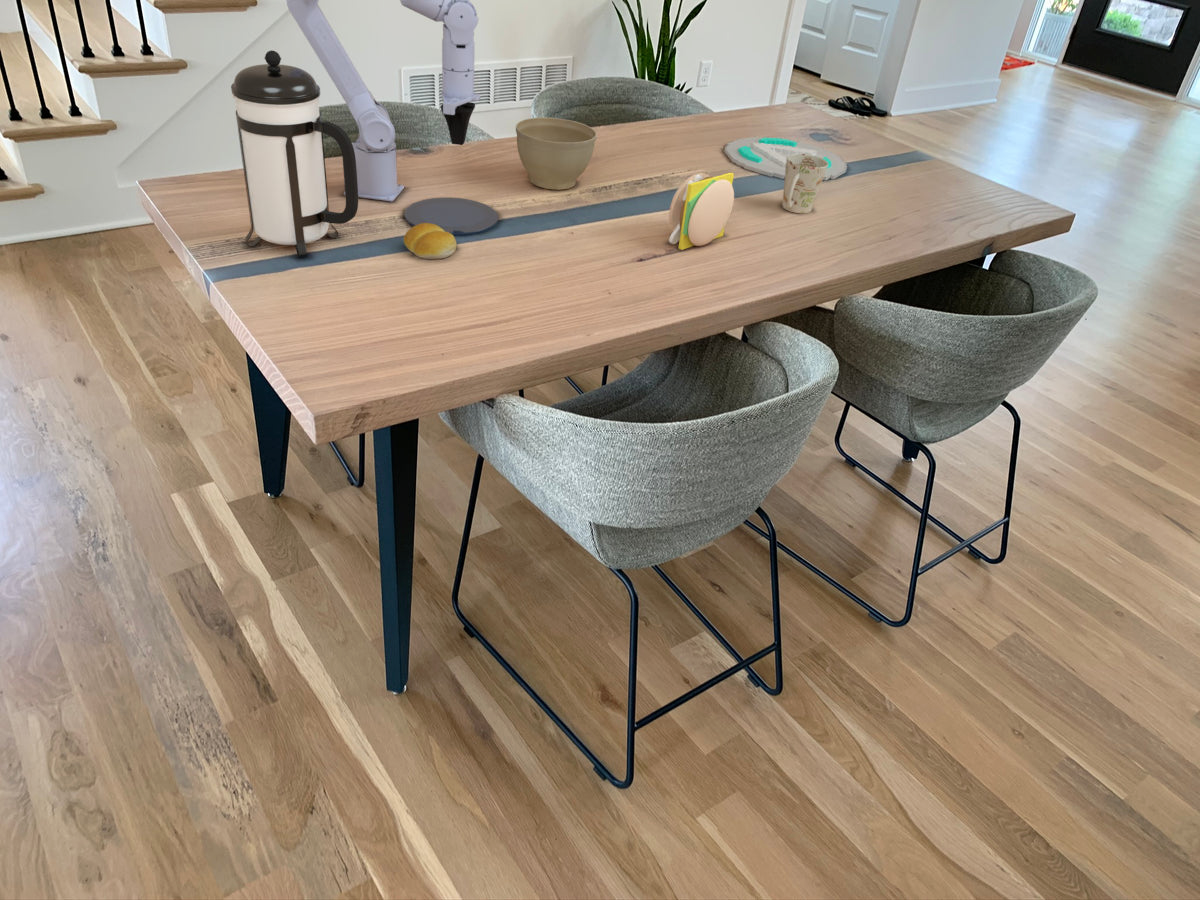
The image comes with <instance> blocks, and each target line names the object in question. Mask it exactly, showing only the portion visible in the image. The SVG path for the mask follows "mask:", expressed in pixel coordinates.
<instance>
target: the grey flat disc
mask: <svg viewBox="0 0 1200 900" xmlns="http://www.w3.org/2000/svg"><path fill="white" fill-rule="evenodd" d="M723 153H724V154H725V155H726V157H727V158H729V160H730V162H731V163H734V164H735V165H736V166H739V167H742V168H743V169H745V170H748V171H751V172H755V173H757V174H760V175H765V176H768V177H771V178H772V177H775V178H777V179H781V180H785V170H786V160H787V157H788V156H789V155H791V154H808V155H813V156H817V157H820V158H822V159H824V160H826V161H827V162H828V167H827V170H826V173H825V175H824V178H823V181H825V182H826V181H828V180H829V179H830V180H834V179H836V178H838V177H840V176H842V175H843V174H845V173H847V169H848V163H847V162H846V161H844V160H843V159H842V158H841V157H840V156H839V155H838V154H837V153H834V152H833V151H832V150H828V149H825V148H824V147H821V146H818V145H815V144H811V143H806V142H805V141H800V140H793V139H790V138H782V137H765V136H762V137H761V136H753V137H750V136H748V137H745V138H743V137H740V138H738V139H735V140H733V141H731V142H728V143H726V145H725V146H724V150H723Z"/></svg>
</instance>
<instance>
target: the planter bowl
mask: <svg viewBox="0 0 1200 900" xmlns="http://www.w3.org/2000/svg"><path fill="white" fill-rule="evenodd" d="M515 132H516V133H515V134H516V146H517V152H518V155H519V159H520V161H521V164H522V166H523V168H524V169H525V171H526V173H527V174H528V179H529V182H530V183H531V184H532V185H534V186H537V187H539V188H542V189H547V190H555V191H558V190H559V191H560V190H561V191H562V190H567V189H568V190H569V189H571V188H573V187H574V186H575V185H576V183H577V180H578V178H580V176H581V175H582V174H583V173H584V171H585V170H586V168H587V167H588V165H589V163H590V162H591V159H592V157H593V153H594V150H595V149H594V148H595V143H596V140H597V137H598V134H597V131H596V130H595V129H594V128H593V127H591V126H589V125H587V124H585V123H582V122H579V121H574V120H570V119H564V118H558V117H531V118H526V119H522V120H520V121H518V122H517V123H516V124H515Z"/></svg>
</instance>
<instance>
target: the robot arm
mask: <svg viewBox="0 0 1200 900" xmlns="http://www.w3.org/2000/svg"><path fill="white" fill-rule="evenodd" d="M399 1H400V4H401V6H403V7H405V8H407V9H408V10H411V11H413V12H415V13H417V14H419V15H422V16H423V17H426V18H427V19H430V20H432V21H434V22H436V23H438V22H442V23H443V24H442V41H441V48H442V49H441V66H442V67H441V71H442V73H441V75H442V77H441V79H442V81H441V82H442V83H441V84H442V87H441V89H442V91H441V92H440V93H441V99H442V104H441V105H440V111H441V113H442V115H443V116H444V119H445V122H446V124H447V127H448V128H447V129H448V134H449V137H450V141H451V144H452V145H459V146H463V145H465V142H466V138H467V132H468V127H469V123H470V120H471V117H472V114H473V112H474V110H475V108H476V103H474V102H477V101H480V99H481V94H478V93H476V92H475V30H476V28H477V26H478V22H479V16H478V12H477V9H476V7H475V6H474V4H473V3H472V2H471V1H470V0H399ZM286 6H287V9H288V11H289V12H290V14H291V16H292V17H293V19H294V20H295V22H296V23H297V25H298V27H299V29H300V30H301V31H302V33H303V35H304V37H305V38H306V40H307V41H308V43H309V45H310V47H311V48H312V50H313V51H314V53H315V54H316V57H317V58H318V60H319V61H320V63H321V64H322V66H323V68H324V69H325V71H326V73H327V75H328V76H329V77H330V79H331V81H332V82H333V84H334V86H335V87H336V89H337V91H338V92H339V94H340V95H341V97H342V98H343V100H344V102H345V104H346V106H347V107H348V110H349V111H350V114H351V116H352V117H353V120H354V121H355V122H356V126H357V129H358V133H359V136H358V137H357V139H356V140H355V142H352V145H353V148H354V152H355V159H356V169H357V184H358V198H362V199H369V200H377V201H385V202H394V201H395V200H396V198H397V197H398V196H399V195H400V194H401V193H402V192H403V190H404V189H405V185H403V184H398V165H397V163H398V162H397V142H395V139H396V129H395V126H394V125H393V123H392V121H391V116H390V113H389V111H388V109H387V108H386V106H384V105H382V104H381V103H380V102H378V101H377V100H376V98H375V97H374V96H373V93H372V92H371V91H370V89H369V88H368V87H367V85H366V84H365V82H364V80H363V79H362V77H361V75H360V74H359V72H358V70H357V68H356V67H355V65H354V63H353V61H352V60H351V58H350V57H349V55H348V53H347V51H346V50H345V48H344V45H342V43H341V41H340V39H339V37H338V36H337V35H336V33H335V31H334V28H332V26H331V24H330V23H329V21H328V19H327V18H326V16H325V14H324V12H323V11H322V9H321V7H320V5H319V0H286ZM473 101H474V102H473ZM342 169H343V168H342ZM343 172H344V169H343ZM343 185H345V182H344V184H343ZM343 195H344V196H345V191H343Z"/></svg>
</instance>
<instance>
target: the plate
mask: <svg viewBox="0 0 1200 900" xmlns="http://www.w3.org/2000/svg"><path fill="white" fill-rule="evenodd" d="M404 219H405V221H406V222H407V224H409V225H410V226H412V227H413V226H415V225H418V224H421V223H431V224H435V225H437V226H439V227H440V228H442V229H443V230H444V231H445V232H448V233H450V234H452V235H453V236H454V237H456V236H458V237H459V236H461V237H462V236H472V235H477V234H481V233H485V232H487V231H490V230H491V229H493V228H494V227H495V226H496V225H497V224H498V222H499V215H498V213H497V211H496V209H495V210H494V208H492V207H491V206H489V205H487V204H485V203H483V202H479V201H476V200H472V199H468V198H460V197H434V198H433V197H432V198H426V199H422V200H419V201H415V202H414V203H412V204H410V205H409V206H407V207H406V209H405V210H404Z"/></svg>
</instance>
